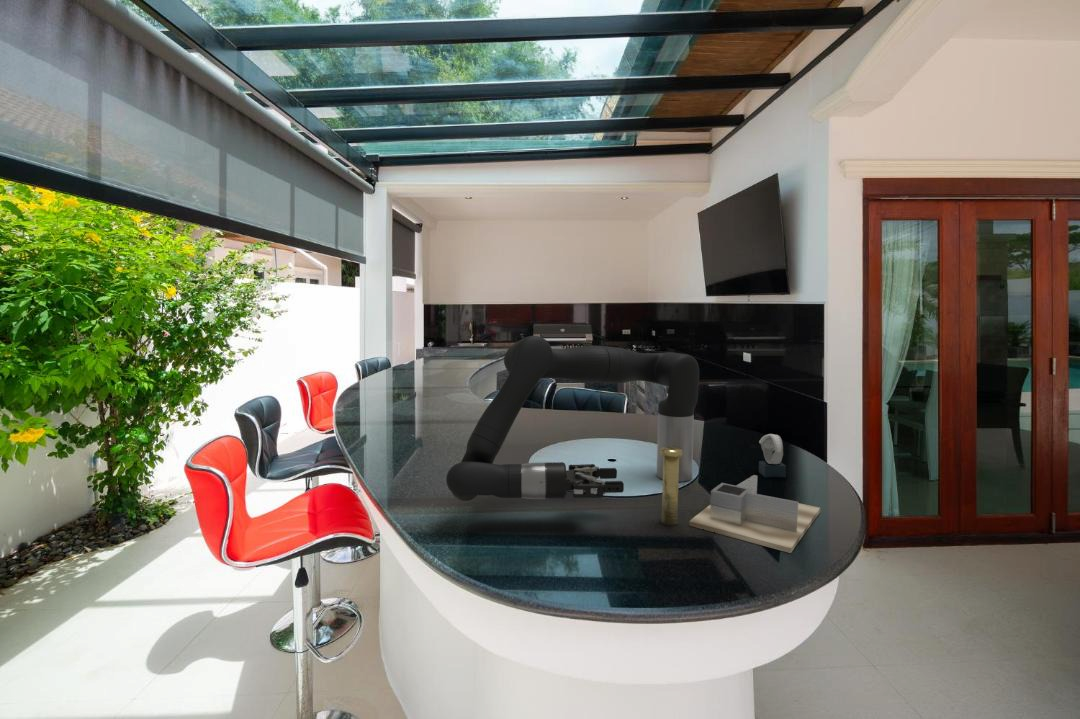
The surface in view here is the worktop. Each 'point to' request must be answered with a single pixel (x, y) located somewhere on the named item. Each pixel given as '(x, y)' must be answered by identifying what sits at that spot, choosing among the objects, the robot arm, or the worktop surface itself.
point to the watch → (772, 457)
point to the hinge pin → (670, 484)
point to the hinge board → (760, 529)
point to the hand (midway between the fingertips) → (619, 479)
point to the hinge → (752, 506)
